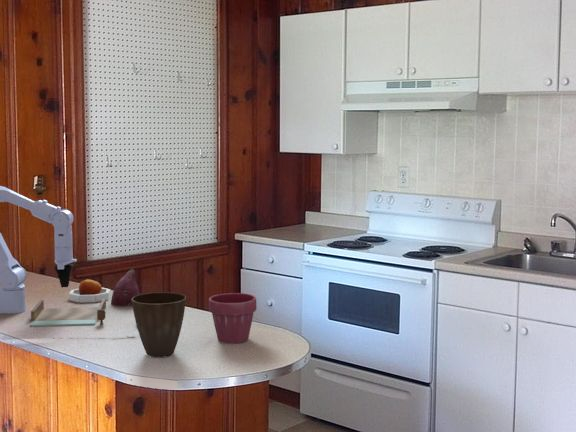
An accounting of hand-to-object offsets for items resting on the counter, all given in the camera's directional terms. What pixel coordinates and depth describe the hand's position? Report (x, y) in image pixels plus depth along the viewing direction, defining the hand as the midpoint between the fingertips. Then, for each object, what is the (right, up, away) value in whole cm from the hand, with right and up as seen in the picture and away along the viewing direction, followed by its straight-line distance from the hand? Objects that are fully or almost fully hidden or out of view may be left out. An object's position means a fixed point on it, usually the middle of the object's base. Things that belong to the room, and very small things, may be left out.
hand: (64, 286), depth 262 cm
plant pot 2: (+58, -13, -28) cm, 66 cm away
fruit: (+2, -7, +25) cm, 26 cm away
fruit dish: (+2, -6, +25) cm, 26 cm away
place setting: (+27, -12, -13) cm, 32 cm away
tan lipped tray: (+2, -10, -3) cm, 10 cm away
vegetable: (+18, -8, +13) cm, 24 cm away
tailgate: (+3, -10, -11) cm, 15 cm away
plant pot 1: (+39, -15, -42) cm, 59 cm away
